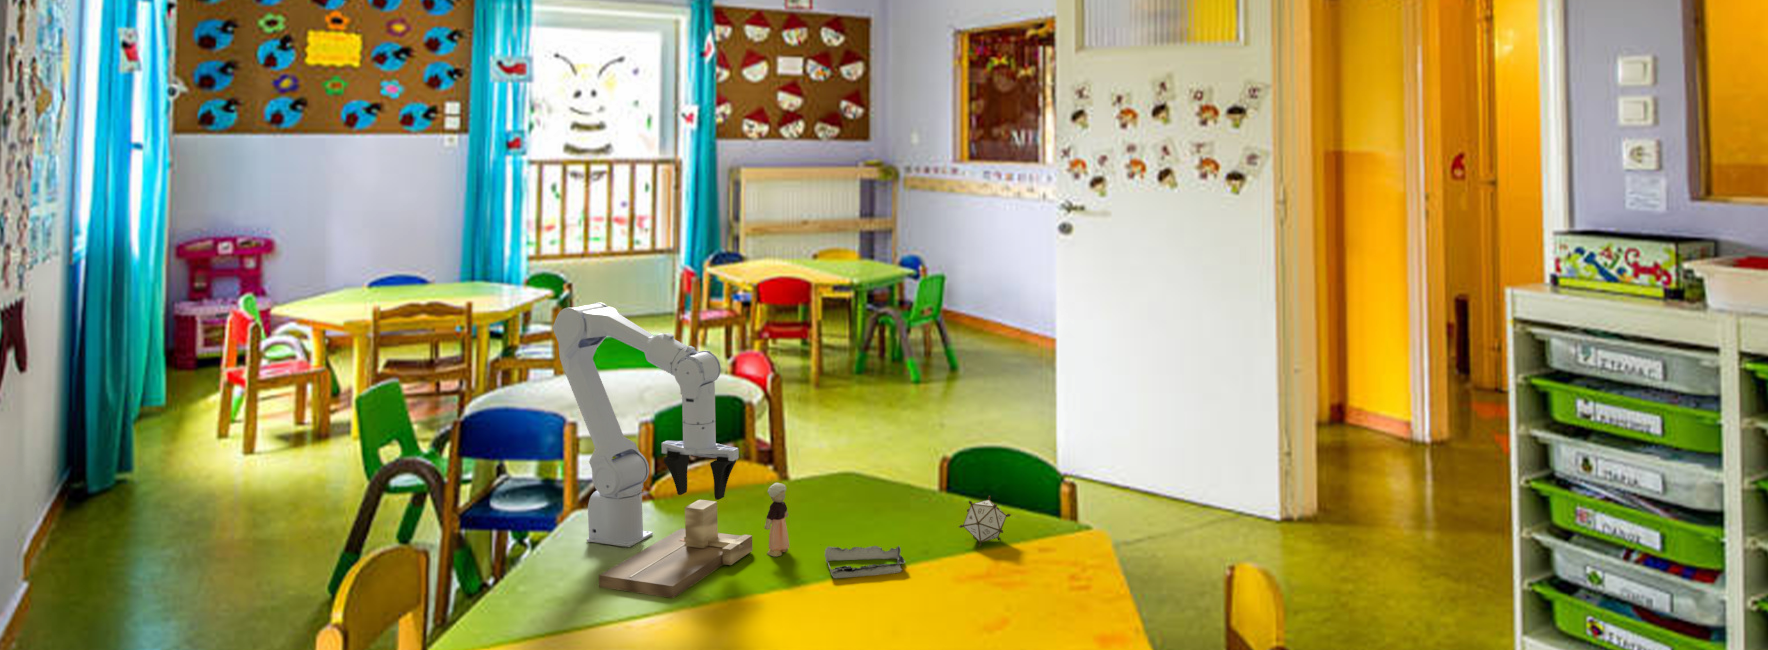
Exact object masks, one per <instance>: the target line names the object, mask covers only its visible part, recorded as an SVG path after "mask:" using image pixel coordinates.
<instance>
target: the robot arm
mask: <svg viewBox="0 0 1768 650" xmlns="http://www.w3.org/2000/svg"><path fill="white" fill-rule="evenodd" d="M552 329H553V334H554V335H555V338H556V340H557V343H558V353H559V360H560V363H561V366H562V369H563V371H564V373H565V375H566V378H567V381H568V384H569V386H570V388H571V391H572V393H573V396H574V398H575V401H576V403H577V406H578V409H579V411H580V413H581V416H582V419H583V421H584V423H585V426H586V429H587V431H588V434H589V436H590V438H591V441H592V443H593V447H594V450H593V452H592V454H591V457H590V458H589V461H588V462H589V464H590V467H591V479H592V484H593V486H594V488H595V491H593V493H592V494H591V495H590V497H589V500H588V504H587V518H588V519H587V520H588V538H586V542H589V543H597V544H605V545H612V546H619V547H626V548H630V547H633V546H634V545H636V544H637V543H638V544H639V542H641V541H644V540H646V539H648V538H649V537H650V536H652V535H653V531H650V530H644V523H643V520H644V519H643V495H642V493H643V491H642V490H643V489H644V482H646V481H647V479H648V477H649V474H650V466H649V465H650V464H649V462H648V460H647V459H646V457H645V456H644V455H643V454H642V453H641V452H640V450H639V449H638V446H637V443H636V442H634V441H632V440H631V439H629V438H627V437H625V436H624V434H623V431H622V429H621V427H620V424H619V421H618V419H617V416H616V413H615V411H614V409H613V406H612V404H611V402H610V399H609V396H608V394H607V392H606V389H605V386H604V383H603V382H602V379H601V377H600V373H599V370H598V369H597V367H596V363H595V361H594V356H595V354H596V351H597V350H598V349H597V348H599V346H600V345H601V344H602V343H603V341H604V340H605V339H606V338H607V337H610V338H613V339H615V340H617V341H619V342H622V343H624V344H625V345H627V346H630V347H632V348H634V349H637V350H639V351H641V352H643V353H644V356H645V359H646V361H647V362H648V363H650V364H652V365H653V366H655V367H657V368H659V369H661V370H663V371H664V372H666V373H667V374H670V375H671V376H673V377H674V378H675V381H676V383H677V384H678V386H679V388H680V395H681V402H682V403H681V406H682V408H681V409H682V414H681V415H682V440H665V441H663V442H661V454H663V455H666V456H665V457H663V463H664V464H665V466H666V467H667V469H668V471H669V473H670V475H671V478H672V481H673V483H674V486H675V489H676V494H677V495H678V496H681V495H684V494H686V493H687V492H688V467H689V461H690V456H694V457H703V458H712V459H715V460H713V461H711V462H710V463H709V465H710V469H711V473H712V477H713V491H714V492H713V493H714V500H717V501H719V500H721V499H723V498H725V494H726V489H727V484H728V481H729V478H730V475H731V473H732V470H733V468H734V467H735V465H736V463H737V460H739V457H740V456H739V452H740V451H739V447H735V446H729V445H725V444H722V443H721V444H720V443H717V441H716V438H717V437H716V436H717V434H716V433H717V432H716V430H717V429H716V425H717V424H716V382H715V381H717V380H718V379H719V377H720V375H721V370H722V367H721V366H722V365H721V363H720V360H719V359H718V357H717V356H716V355H715V354H713V353H712V352H711V350H702V351H701V350H700V351H697V350H696V347H694V346H692V345H689V346H688V345H686V344H684V343H683V342H681V341H679V340H677V339H675V335H674V334H672V333H670V332H667V333H664V332H663V333H662V332H661V333H658V334H656V335H653V334H652V333H650V332H649V331H647V330H646V329H644V328H643V327H641V326H639V325H638V324H636V323H634V322H633V321H632V320H629V319H628V318H626V317H624V316H623V315H621V314H620V313H619V312H618V310H617V308H615V307H613V306H609V305H608V304H606V303H603V302H600V301H599V302H597V301H596V302H594V303H591V304H586V305H581V306H575V307H565V308H563V309H561V310H560V311H559V313H558V314H557V315H556V317H555V320H554V323H553V326H552ZM613 457H615V458H613Z"/></svg>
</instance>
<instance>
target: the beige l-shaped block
mask: <svg viewBox="0 0 1768 650" xmlns="http://www.w3.org/2000/svg"><path fill="white" fill-rule="evenodd" d="M684 525H685V526H684V527H685V528H684V529H685V532H686V536H685V537H684V542H685V543H686V546H691V547H698V548H705V547H707V546H715V547H722V559H723V564H724V565H725V566H726V565H728V566H732V565H733V564H735V563H736V562H738V561H739V560H741V559H742V558H744V557H745V556H746V555H749V553H751V552H753V535H750V534H742V535H740V536H741V537H739V538H738V539H728V538H720V537H718V533H719V529H718V501H714V500H707V499H697V500H695V501H694V502H692V503H690V504H688V505H687V506H686V505H685V506H684Z"/></svg>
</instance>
